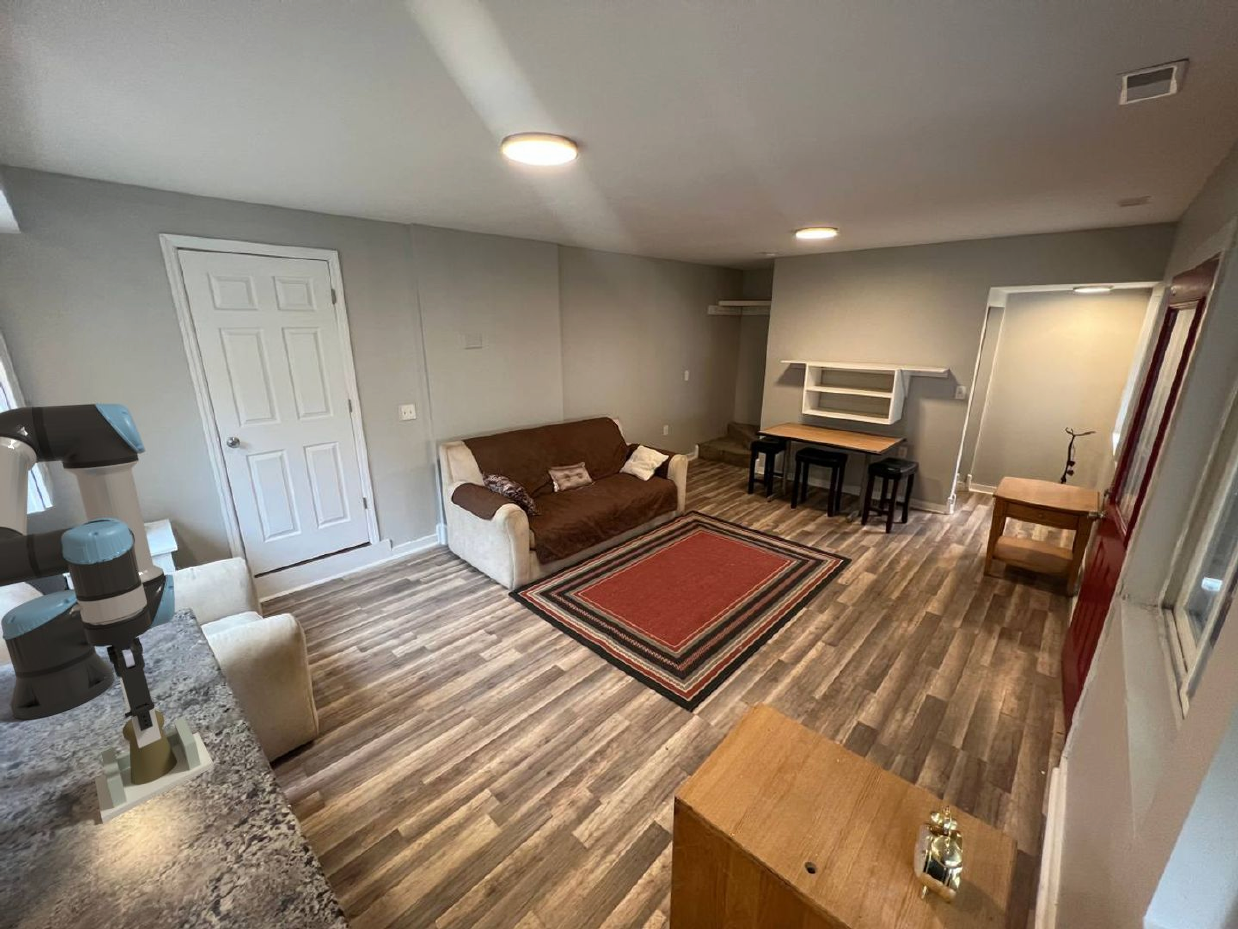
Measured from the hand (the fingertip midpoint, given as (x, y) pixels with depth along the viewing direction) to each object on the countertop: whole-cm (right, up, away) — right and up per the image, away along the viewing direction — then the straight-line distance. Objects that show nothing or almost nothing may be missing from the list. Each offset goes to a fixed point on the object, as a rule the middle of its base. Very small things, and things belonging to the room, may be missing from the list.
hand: (143, 723), depth 84 cm
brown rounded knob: (+1, -9, +2) cm, 10 cm away
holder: (+1, -10, +2) cm, 10 cm away
